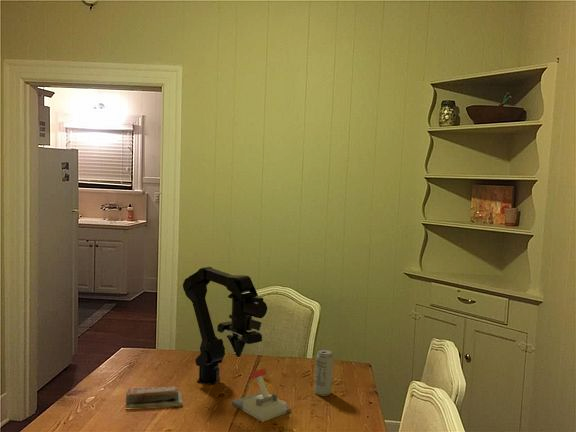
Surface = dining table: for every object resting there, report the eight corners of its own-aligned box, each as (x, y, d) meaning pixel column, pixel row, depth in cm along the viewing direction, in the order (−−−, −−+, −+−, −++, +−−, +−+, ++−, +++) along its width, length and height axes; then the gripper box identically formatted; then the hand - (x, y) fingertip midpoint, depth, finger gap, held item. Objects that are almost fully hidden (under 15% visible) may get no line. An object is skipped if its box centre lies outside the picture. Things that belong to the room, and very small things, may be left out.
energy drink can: (334, 394, 187) (337, 353, 186) (321, 397, 184) (323, 355, 183) (324, 388, 192) (326, 348, 191) (311, 391, 189) (313, 350, 188)
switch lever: (259, 404, 169) (249, 373, 172) (271, 400, 172) (261, 370, 176) (263, 402, 168) (252, 371, 171) (275, 398, 171) (264, 368, 175)
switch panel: (231, 404, 176) (232, 389, 175) (259, 395, 184) (260, 380, 184) (262, 422, 164) (262, 405, 164) (290, 411, 172) (291, 396, 172)
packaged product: (125, 396, 168) (126, 384, 178) (125, 411, 168) (126, 398, 178) (183, 392, 173) (181, 381, 182) (182, 407, 173) (180, 395, 183)
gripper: (275, 314, 182) (273, 359, 183) (242, 303, 196) (240, 345, 197) (249, 319, 174) (247, 366, 175) (217, 307, 188) (215, 350, 189)
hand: (238, 356), depth 184 cm, fingers closed
